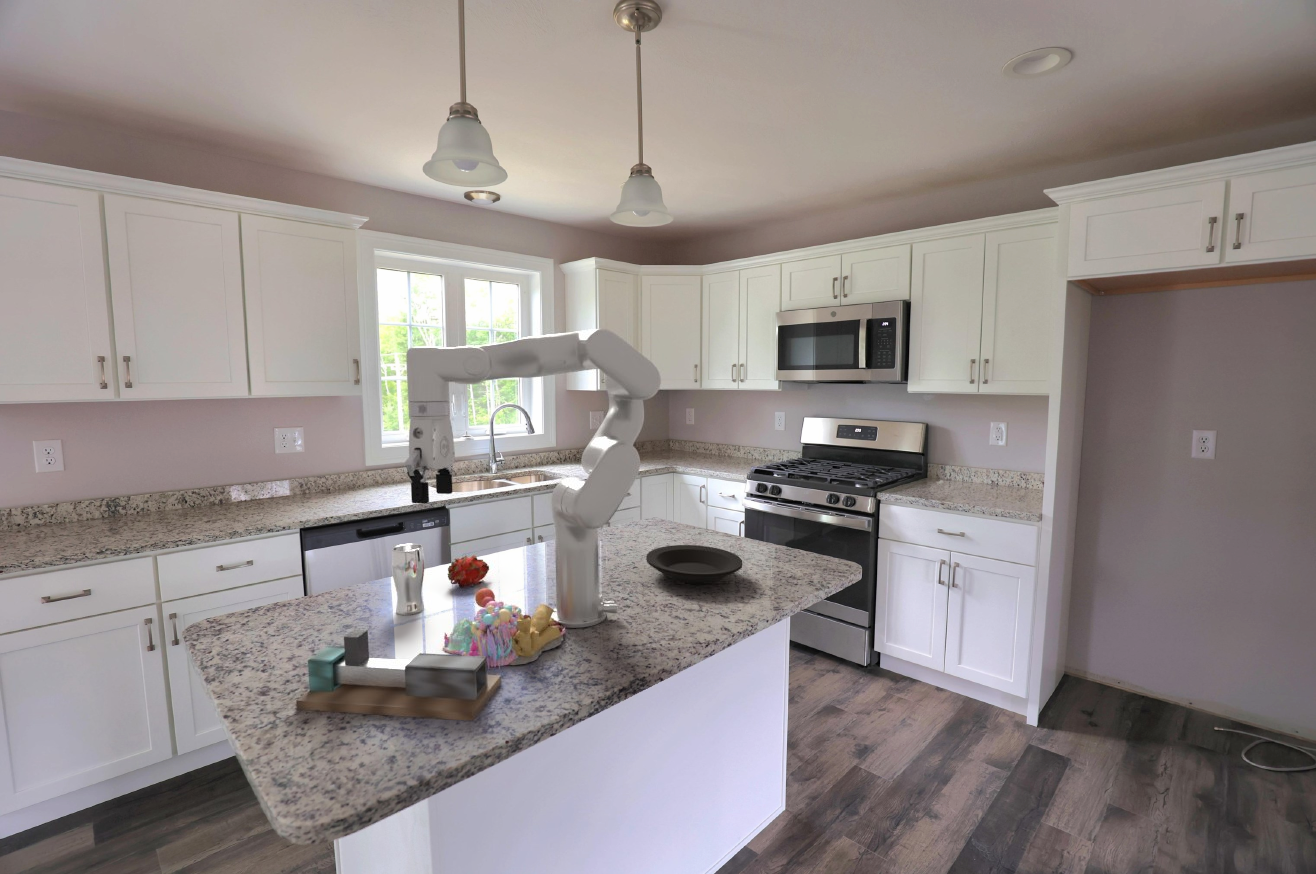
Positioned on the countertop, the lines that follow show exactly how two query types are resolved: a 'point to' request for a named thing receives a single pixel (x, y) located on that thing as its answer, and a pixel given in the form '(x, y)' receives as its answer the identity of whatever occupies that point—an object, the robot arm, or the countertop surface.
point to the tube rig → (429, 691)
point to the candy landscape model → (504, 633)
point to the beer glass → (408, 577)
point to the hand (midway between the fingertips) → (432, 498)
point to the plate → (694, 563)
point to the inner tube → (366, 665)
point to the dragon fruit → (467, 571)
